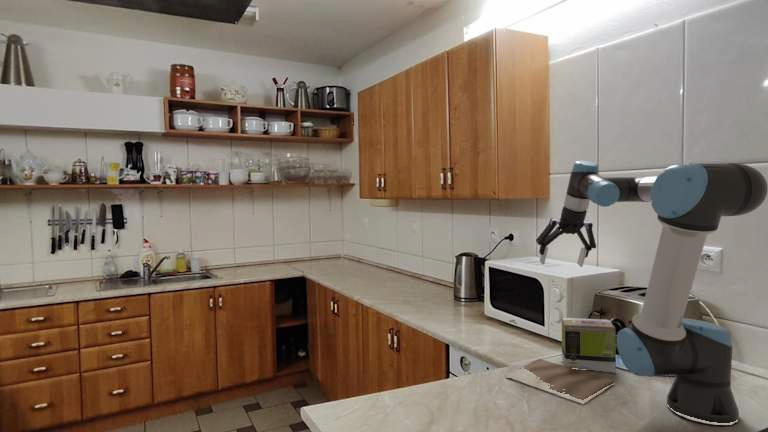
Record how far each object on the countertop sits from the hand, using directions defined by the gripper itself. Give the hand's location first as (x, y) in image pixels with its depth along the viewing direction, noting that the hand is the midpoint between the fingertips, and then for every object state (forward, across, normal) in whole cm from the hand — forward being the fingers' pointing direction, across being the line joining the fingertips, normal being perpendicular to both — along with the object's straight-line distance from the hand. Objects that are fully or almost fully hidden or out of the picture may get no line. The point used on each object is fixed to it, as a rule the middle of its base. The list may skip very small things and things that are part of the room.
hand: (560, 263), depth 160 cm
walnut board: (+22, +8, +33) cm, 41 cm away
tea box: (+25, -6, +23) cm, 34 cm away
